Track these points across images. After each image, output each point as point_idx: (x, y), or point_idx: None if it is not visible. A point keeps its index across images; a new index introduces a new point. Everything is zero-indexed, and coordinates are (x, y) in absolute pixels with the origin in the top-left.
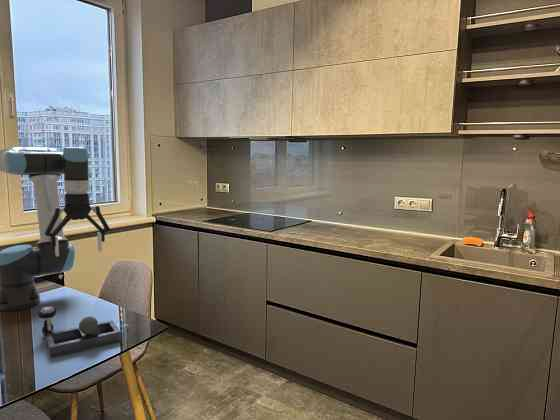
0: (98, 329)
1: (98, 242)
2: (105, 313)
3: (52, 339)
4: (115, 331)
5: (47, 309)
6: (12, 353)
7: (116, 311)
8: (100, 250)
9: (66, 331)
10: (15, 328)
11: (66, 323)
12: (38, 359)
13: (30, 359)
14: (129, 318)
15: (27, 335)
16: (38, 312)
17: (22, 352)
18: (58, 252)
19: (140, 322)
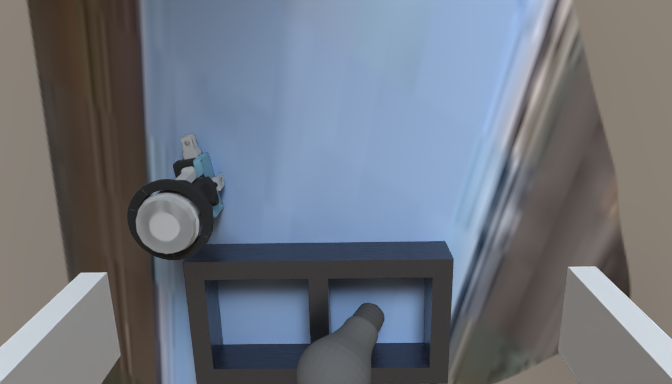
0: (374, 342)
1: (617, 370)
2: (473, 31)
3: (207, 326)
4: (430, 372)
5: (166, 244)
6: (89, 261)
7: (529, 31)
8: (572, 362)
9: (261, 278)
10: (71, 7)
11: (284, 68)
12: (172, 346)
13: (149, 334)
14: (549, 158)
15: (127, 121)
16: (130, 218)
17: (120, 270)
18: (97, 381)
19: (571, 228)
